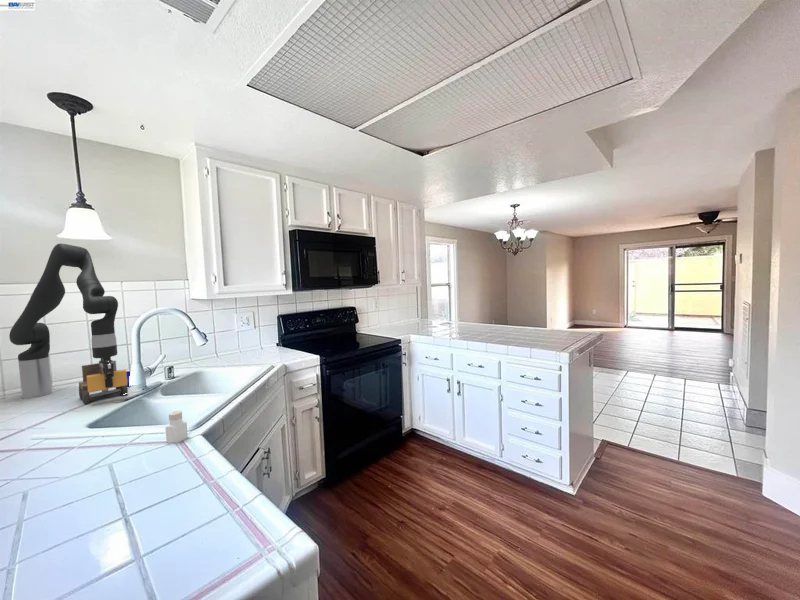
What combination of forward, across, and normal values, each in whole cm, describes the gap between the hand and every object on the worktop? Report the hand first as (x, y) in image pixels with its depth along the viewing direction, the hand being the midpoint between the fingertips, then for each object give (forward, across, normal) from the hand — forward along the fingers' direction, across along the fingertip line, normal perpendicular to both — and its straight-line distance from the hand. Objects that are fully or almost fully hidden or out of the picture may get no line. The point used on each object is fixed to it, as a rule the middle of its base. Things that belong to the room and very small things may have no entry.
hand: (108, 386), depth 134 cm
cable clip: (+7, +25, -11) cm, 28 cm away
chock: (+1, 0, 0) cm, 1 cm away
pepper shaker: (+7, -67, -5) cm, 67 cm away
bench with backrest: (+7, +11, 0) cm, 13 cm away
